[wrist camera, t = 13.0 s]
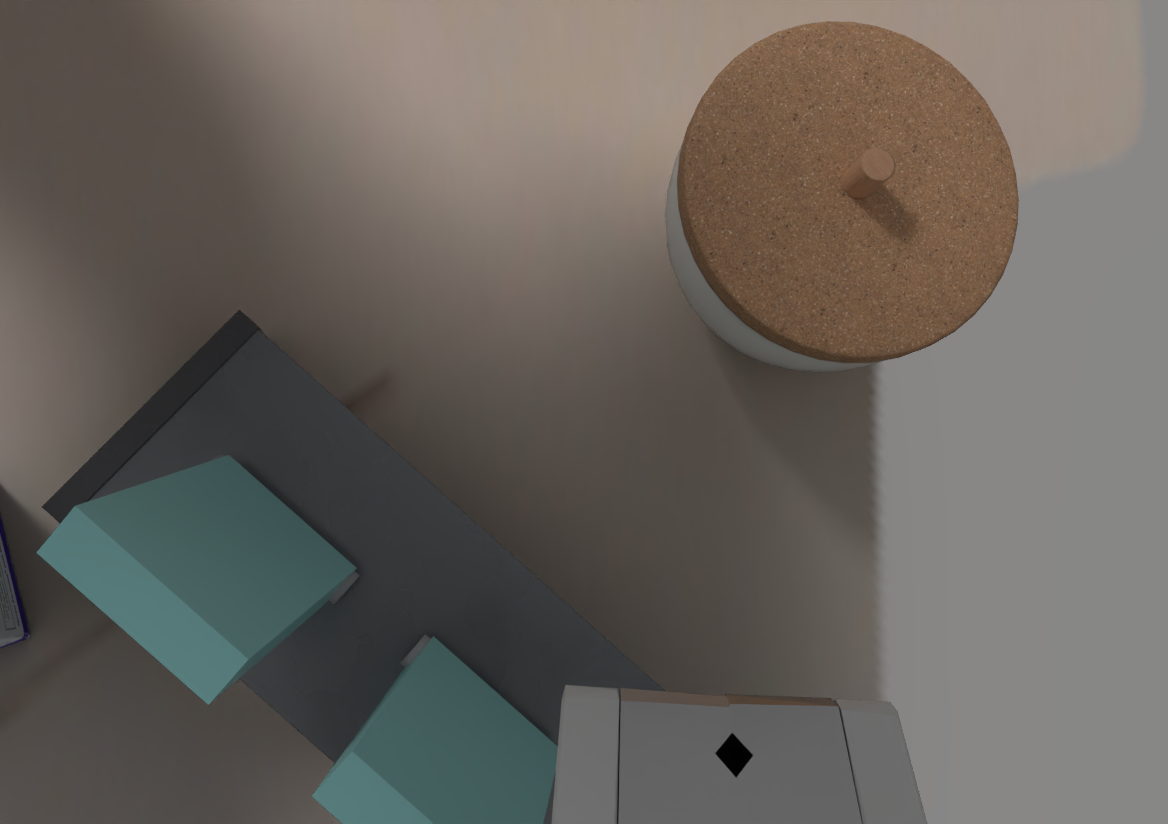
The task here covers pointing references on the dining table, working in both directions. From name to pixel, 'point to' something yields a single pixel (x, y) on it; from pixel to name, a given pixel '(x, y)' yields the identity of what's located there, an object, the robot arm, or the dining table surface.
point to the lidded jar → (840, 199)
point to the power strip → (357, 547)
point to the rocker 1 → (200, 569)
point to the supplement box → (10, 599)
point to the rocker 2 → (441, 753)
